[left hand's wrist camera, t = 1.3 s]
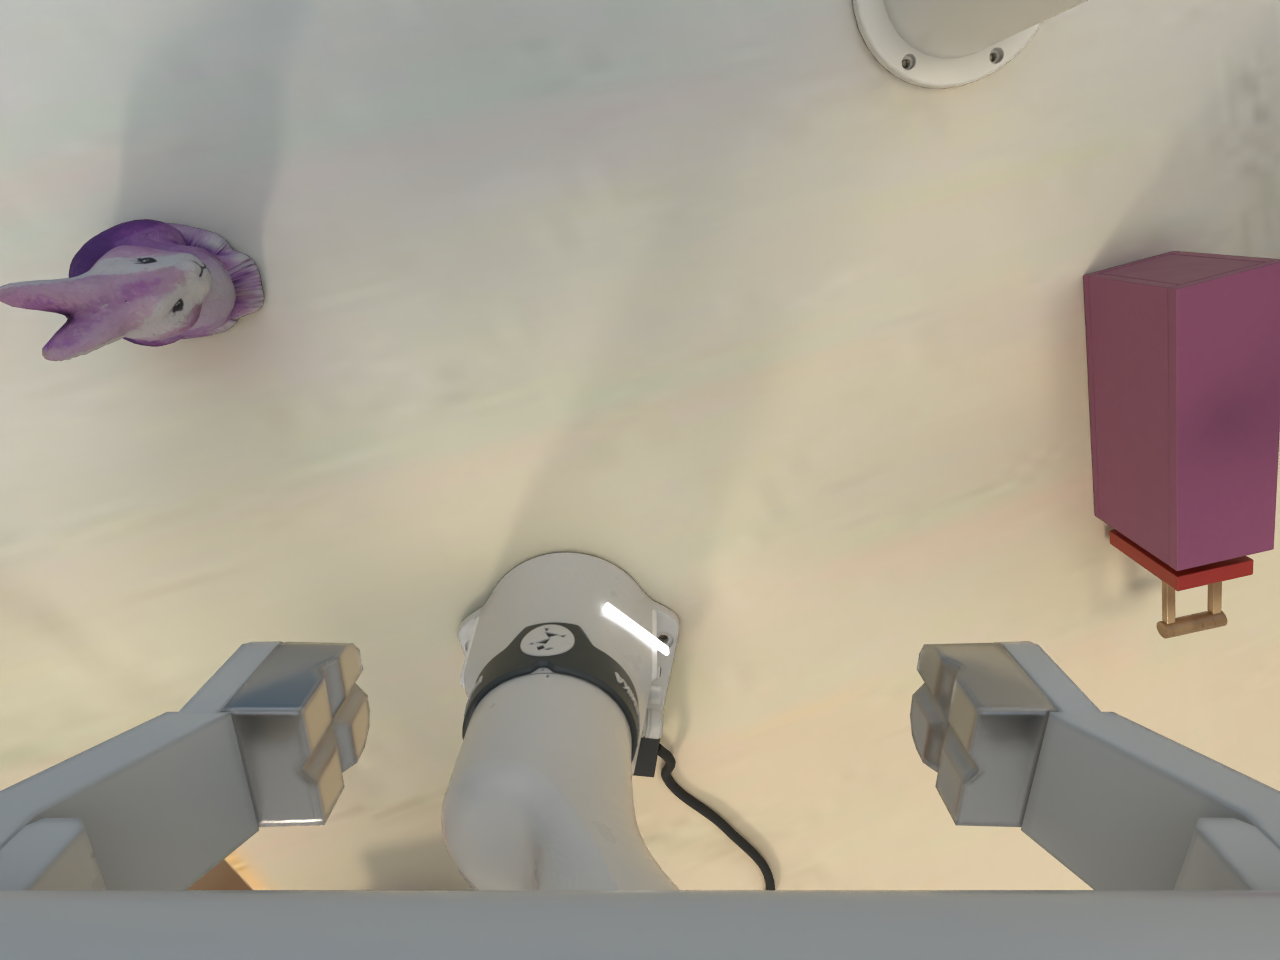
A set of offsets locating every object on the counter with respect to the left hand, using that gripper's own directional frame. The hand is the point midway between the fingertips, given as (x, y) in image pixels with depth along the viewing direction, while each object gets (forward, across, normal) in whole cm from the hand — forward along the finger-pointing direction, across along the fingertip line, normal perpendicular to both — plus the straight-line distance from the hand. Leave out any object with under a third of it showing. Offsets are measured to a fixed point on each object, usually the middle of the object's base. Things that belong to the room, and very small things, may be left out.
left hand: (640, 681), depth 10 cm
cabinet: (+44, +37, -6) cm, 58 cm away
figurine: (+44, -31, +2) cm, 54 cm away
